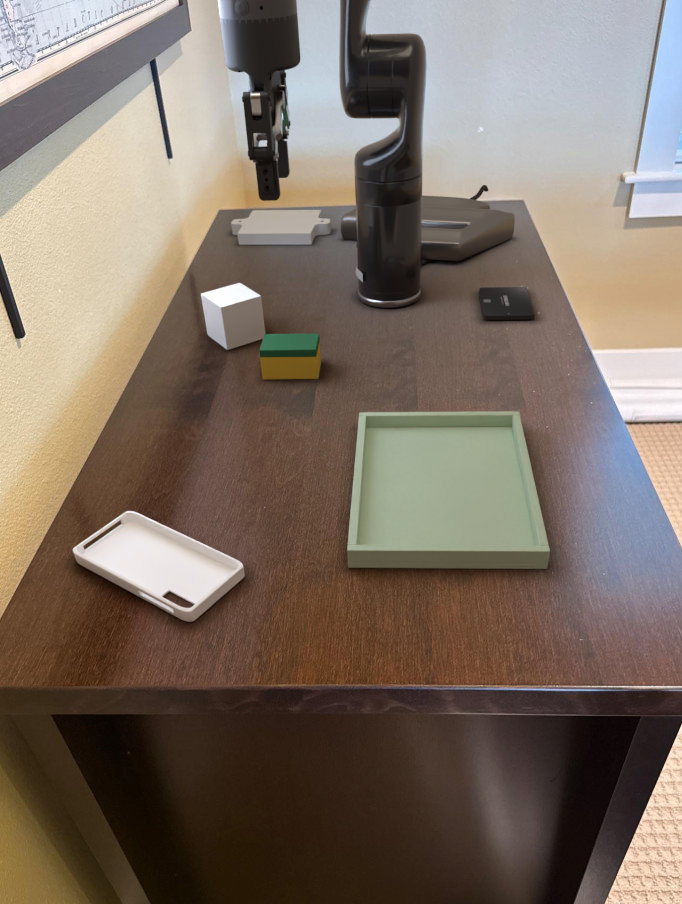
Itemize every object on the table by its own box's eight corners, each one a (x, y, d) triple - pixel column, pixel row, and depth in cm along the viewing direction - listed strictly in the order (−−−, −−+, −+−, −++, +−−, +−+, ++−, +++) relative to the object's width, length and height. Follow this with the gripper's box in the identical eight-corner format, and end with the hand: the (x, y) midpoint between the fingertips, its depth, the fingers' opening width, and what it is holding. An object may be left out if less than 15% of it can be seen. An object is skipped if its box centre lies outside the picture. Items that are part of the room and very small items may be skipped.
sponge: (267, 362, 101) (264, 333, 98) (321, 362, 100) (319, 333, 98) (262, 379, 97) (259, 350, 95) (318, 379, 97) (315, 349, 94)
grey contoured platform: (472, 176, 144) (539, 220, 123) (470, 206, 148) (535, 254, 127) (327, 194, 139) (371, 243, 118) (328, 224, 143) (371, 277, 122)
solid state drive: (483, 320, 108) (484, 315, 107) (478, 291, 115) (479, 287, 115) (534, 319, 107) (535, 314, 107) (526, 291, 115) (526, 286, 115)
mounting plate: (335, 220, 144) (334, 209, 143) (325, 244, 134) (325, 233, 133) (241, 220, 146) (239, 210, 145) (224, 244, 136) (223, 233, 135)
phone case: (248, 574, 69) (132, 519, 76) (246, 563, 68) (129, 508, 75) (190, 625, 64) (72, 561, 71) (187, 613, 64) (68, 550, 70)
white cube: (227, 350, 104) (220, 307, 100) (207, 335, 108) (200, 293, 104) (266, 337, 107) (261, 295, 103) (245, 323, 110) (239, 282, 107)
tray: (359, 428, 87) (359, 412, 86) (517, 427, 86) (519, 410, 85) (348, 568, 69) (346, 550, 68) (547, 569, 68) (550, 551, 67)
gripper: (288, 18, 69) (302, 207, 79) (304, 1, 80) (315, 169, 90) (205, 21, 69) (230, 209, 80) (232, 4, 80) (251, 171, 91)
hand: (275, 187), depth 85 cm, fingers open, 8 cm apart
